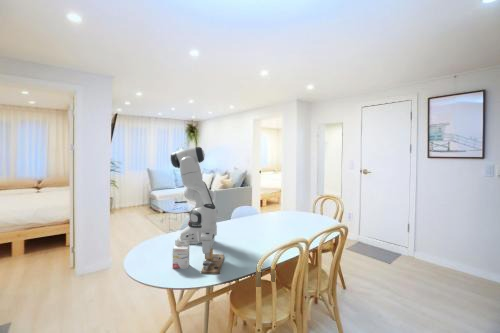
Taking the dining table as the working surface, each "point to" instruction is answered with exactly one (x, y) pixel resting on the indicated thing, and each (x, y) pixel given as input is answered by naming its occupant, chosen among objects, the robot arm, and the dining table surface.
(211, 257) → the slider
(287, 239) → the dining table surface
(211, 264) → the board
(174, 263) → the ink cartridge box
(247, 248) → the dining table surface
